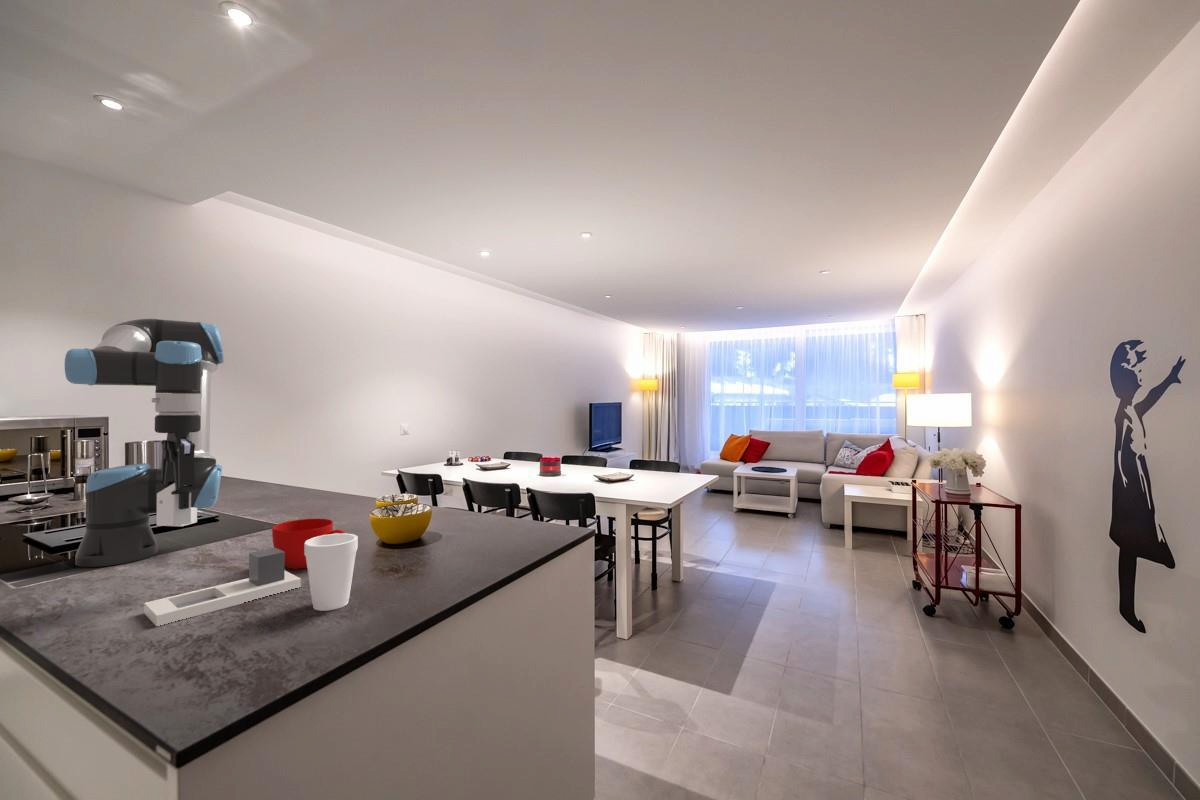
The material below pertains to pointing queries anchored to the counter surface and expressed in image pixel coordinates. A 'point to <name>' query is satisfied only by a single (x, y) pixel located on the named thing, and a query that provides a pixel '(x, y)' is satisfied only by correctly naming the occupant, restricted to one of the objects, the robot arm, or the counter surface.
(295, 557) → the ceramic cup
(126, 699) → the counter surface
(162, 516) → the white angled block
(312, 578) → the foam cup
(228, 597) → the white slotted base plate
